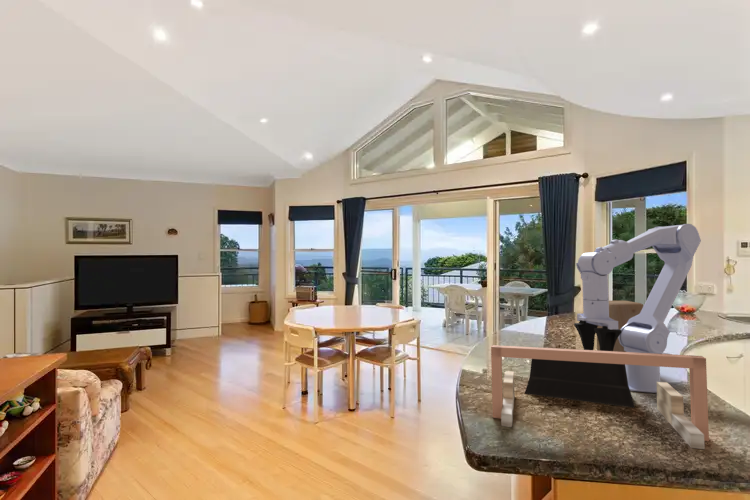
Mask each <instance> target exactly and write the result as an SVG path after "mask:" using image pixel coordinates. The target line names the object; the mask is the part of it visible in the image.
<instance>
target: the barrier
mask: <svg viewBox="0 0 750 500" xmlns="http://www.w3.org/2000/svg"><path fill="white" fill-rule="evenodd" d="M631 392H632V391H630V389H629V386H628V380H627V373H626V367H625V364H610V363H593V362H577V361H560V360H544V359H531V363H530V370H529V378H528V382H527V385H526V388H525V391H524V394H525V395H532V396H541V397H542V396H543V397H547V398H553V399H554V398H556V399H561V400H562V399H563V400H570V401H577V402H579V401H580V402H586V403H595V404H602V405H610V406H618V407H623V408H624V407H625V408H633V409H634V408H635V403H634V399H633V394H632V393H631Z"/></svg>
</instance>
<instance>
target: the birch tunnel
mask: <svg viewBox="0 0 750 500" xmlns="http://www.w3.org/2000/svg"><path fill="white" fill-rule="evenodd" d="M503 377H504V378H503V380H502V390H503V405H502V412H501V419H500V420H501V421H500V423H501V424H500V425H501V427H507V428H512V427H513V420H514V419H513V418H514V405H515V397H516V395H515V371H511V370H510V371H509V370H505V372H504V376H503ZM656 383H657V393H656V405H657V406H656V408H657V410H658V412H659V413H660V414H661V415H662V417H663V418H665V420H666V421H667V422H668V423H669V424H670V425H671V427H672V429H674V430H675V432H677V434H678V435H679V436H680V437H681V438H682V439H683V440H684V442H685V443H686V444H687V445H688V446H689V448H691V449H701V450H705V441H704V434H703V433H702V432H701V431H700V430H699V429H698V428H697V427H696V426H695V425H694V424H693V423H692V422H691V419H689V418H688V417H687V416H686V415H685V414H684V413H685V412H684V410H685V409H684V407H685V406H684V395H682V394H681V393H679V392H678V391H677V390H676V389H675V388H674V387H673V386H671V384H669V382H667V381H666V382H664V381H660V382H656Z"/></svg>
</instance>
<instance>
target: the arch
mask: <svg viewBox="0 0 750 500" xmlns="http://www.w3.org/2000/svg"><path fill="white" fill-rule="evenodd" d="M490 352H491V353H490V355H491V356H490V357H491V360H490V361H491V363H490V364H491V392H492V393H491V394H492V395H491V396H492V397H491V398H492V399H491V400H492V404H491V406H492V418H493V419H500V420H501V412H502V405H503V399H504V392H503V364H502V363H503V361H502V358H516V359H528V360H529V359H531V360H532V359H544V360H560V361H577V362H593V363H610V364H626V365H642V366H659V367H660V368H661V367H663V368H678V369H679V368H680V369H688V370H689V391H690V392H689V393H690V395H689V396H690V417H691V419H690V421H691V422H692V423H693V424H694V425H695V426H696V427H697V428H698V429H699V430H700V431H701V432H702V433H703V434H704V442H710V433H709V432H710V430H709V429H710V427H709V406H708V405H709V404H708V402H709V401H708V399H709V398H708V375H707V371H708V370H707V358H706V357H704V356H703V355H690V354H689V355H688V354H687V355H686V354H674V353H673V354H672V353H671V354H670V353H662V354H654V353H635V352H615V351H597V349H596V350H595V349H593V350H584V349H572V348H555V347H537V346H536V347H535V346H518V345H517V346H516V345H515V346H514V345H497V344H495V345H494V344H492V345H490Z"/></svg>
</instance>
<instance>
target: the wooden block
mask: <svg viewBox="0 0 750 500" xmlns="http://www.w3.org/2000/svg"><path fill="white" fill-rule="evenodd" d="M643 306H644V304H643V303H641V302H636V301H631V300H609V317H610V318H611V319H613V320H615V321H618V329H621V328H622V327H623V326H624V325H626V324H627V322H628V320H629V319H630V318H632V317H634V316H636V315H638V314H640V312H641V310H642V308H643ZM597 328H602V326H598V327H597ZM596 351H600V346H599V341H598V337H597V336H596ZM613 351H615V352H626V351H624V347H623V346H622V345H621V344H620V342H619V339H618V338H617V340H616V343H615V345H614V349H613Z"/></svg>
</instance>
